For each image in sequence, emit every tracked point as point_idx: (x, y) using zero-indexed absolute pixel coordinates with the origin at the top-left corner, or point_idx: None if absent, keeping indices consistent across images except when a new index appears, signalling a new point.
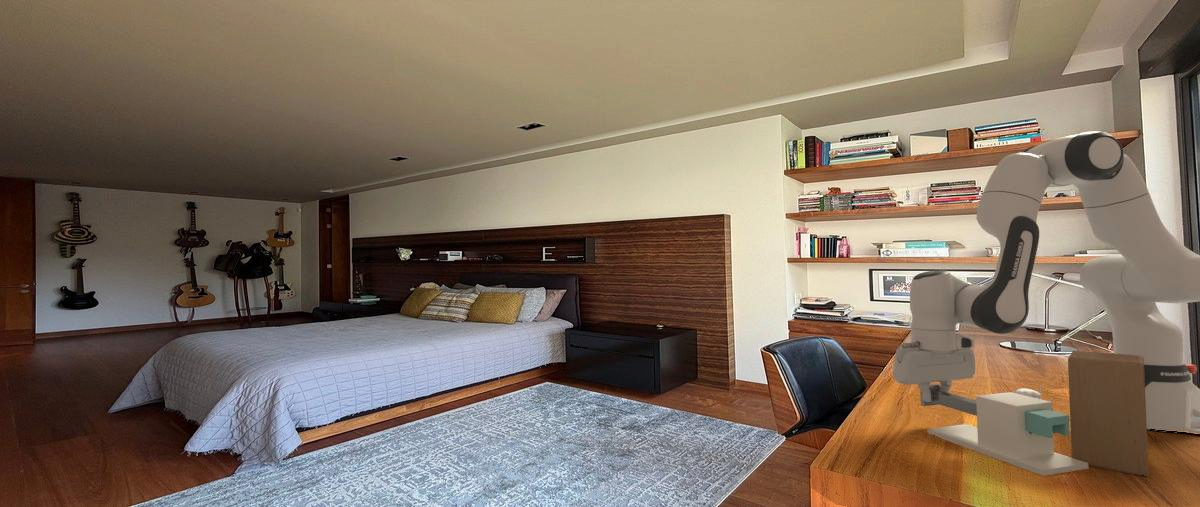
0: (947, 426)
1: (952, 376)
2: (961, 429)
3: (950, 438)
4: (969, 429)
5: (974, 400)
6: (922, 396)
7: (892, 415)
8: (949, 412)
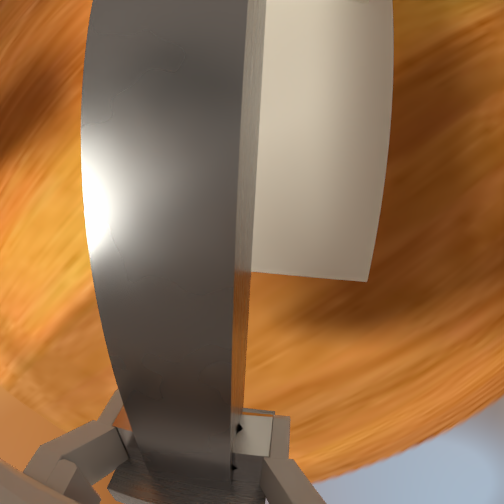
0: None
1: (7, 497)
2: None
3: (385, 139)
4: None
5: (105, 88)
6: None
7: None
8: (61, 377)
